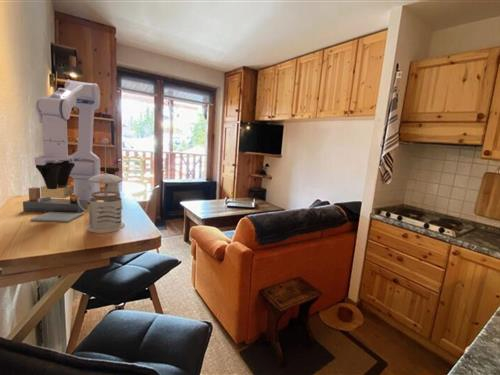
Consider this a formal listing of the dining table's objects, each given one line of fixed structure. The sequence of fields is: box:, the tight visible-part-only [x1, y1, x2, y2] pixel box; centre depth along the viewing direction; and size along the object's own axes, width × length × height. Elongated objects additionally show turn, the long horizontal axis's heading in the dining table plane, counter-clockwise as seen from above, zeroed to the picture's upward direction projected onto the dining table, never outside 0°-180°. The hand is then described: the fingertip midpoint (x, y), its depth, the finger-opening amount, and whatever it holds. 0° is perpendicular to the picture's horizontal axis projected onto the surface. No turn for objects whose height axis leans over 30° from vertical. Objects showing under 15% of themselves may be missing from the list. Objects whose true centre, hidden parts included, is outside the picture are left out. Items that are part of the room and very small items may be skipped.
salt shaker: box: [102, 175, 123, 218], centre depth 81 cm, size 6×6×13 cm
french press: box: [77, 138, 126, 234], centre depth 69 cm, size 10×12×25 cm
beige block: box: [40, 184, 73, 199], centre depth 74 cm, size 4×6×3 cm
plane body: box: [22, 186, 89, 213], centre depth 82 cm, size 6×16×7 cm, turn 97°
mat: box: [30, 212, 84, 223], centre depth 75 cm, size 8×10×1 cm
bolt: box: [100, 165, 120, 189], centre depth 88 cm, size 6×5×15 cm
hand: (57, 187), depth 74 cm, fingers closed on beige block, 4 cm apart
